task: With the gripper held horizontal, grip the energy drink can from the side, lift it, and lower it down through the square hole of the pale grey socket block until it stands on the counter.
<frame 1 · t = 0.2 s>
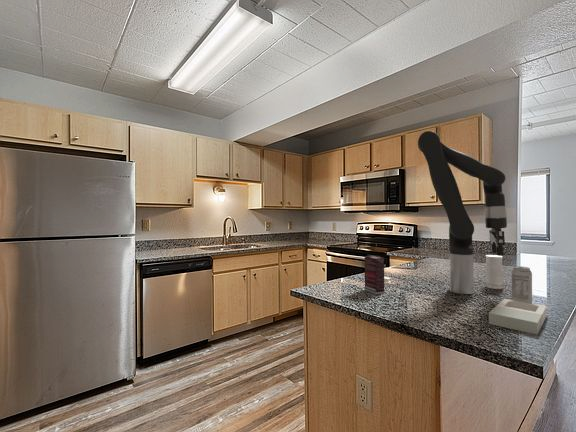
hand: (497, 254, 127), 18 cm above the counter, tool pointing down, fingers open, 8 cm apart
supplement box: (374, 292, 134), on the counter
energy drink can: (521, 307, 111), on the counter
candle: (494, 287, 140), on the counter
socket block: (521, 316, 101), on the counter
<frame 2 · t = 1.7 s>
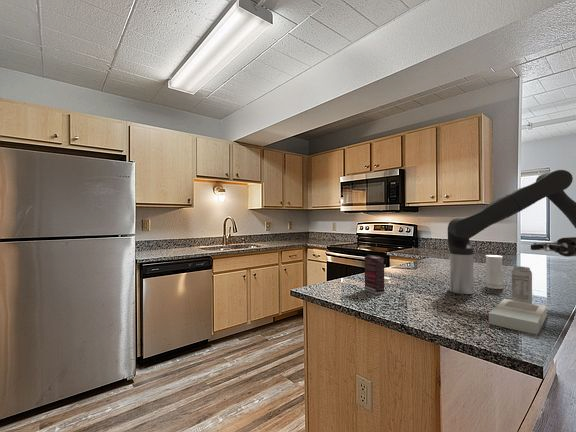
hand: (543, 248, 114), 22 cm above the counter, tool horizontal, fingers open, 8 cm apart
nothing on the counter moved.
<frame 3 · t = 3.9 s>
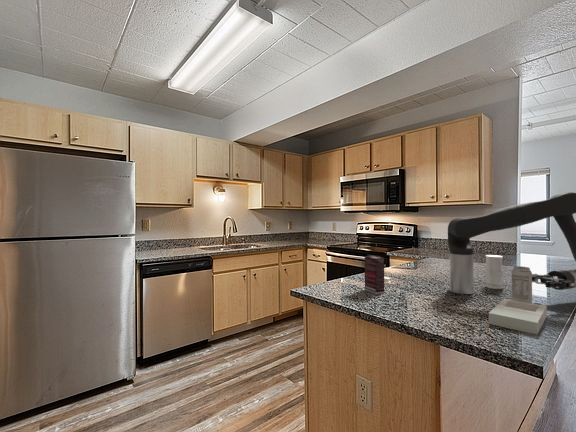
hand: (534, 282, 112), 9 cm above the counter, tool horizontal, fingers open, 8 cm apart
nothing on the counter moved.
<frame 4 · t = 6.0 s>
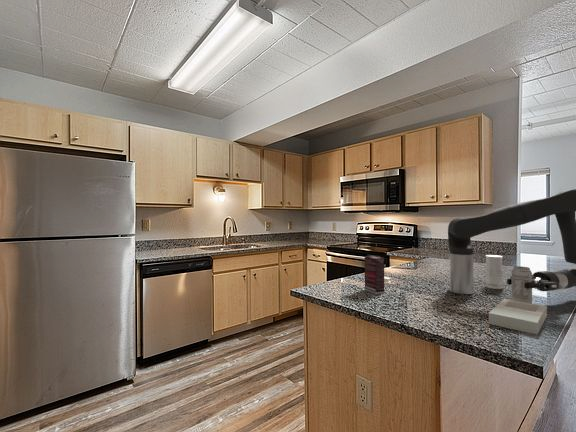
hand: (516, 283, 110), 9 cm above the counter, tool horizontal, fingers closed on energy drink can, 6 cm apart
energy drink can: (521, 307, 111), on the counter, touching gripper
everything else where it was.
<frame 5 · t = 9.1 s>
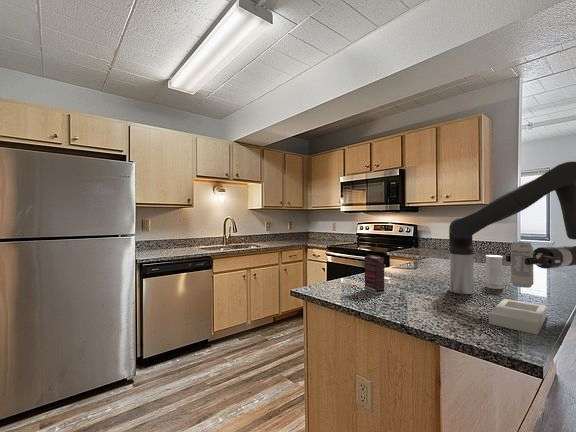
hand: (516, 260, 100), 19 cm above the counter, tool horizontal, fingers closed on energy drink can, 6 cm apart
energy drink can: (522, 286, 101), point 10 cm above the counter, touching gripper
everything else where it was.
when the fingers open (10 cm above the counter, at t = 12.2 s): energy drink can stays where it is, resting in socket block.
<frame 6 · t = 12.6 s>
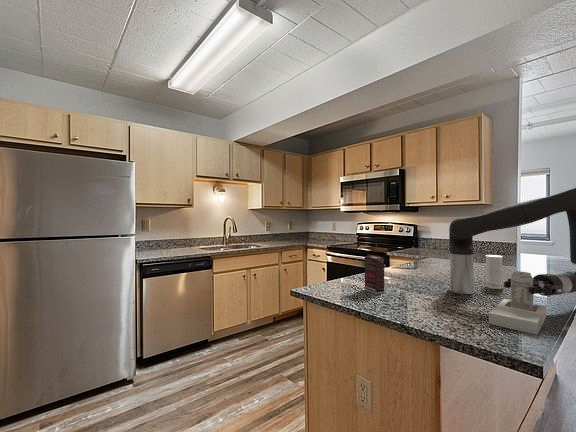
hand: (517, 287, 101), 10 cm above the counter, tool horizontal, fingers open, 8 cm apart
energy drink can: (521, 316, 101), resting in socket block
everything else where it was.
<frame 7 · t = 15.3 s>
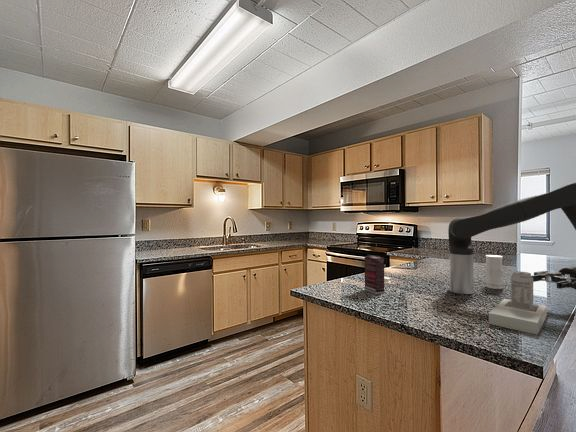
hand: (544, 282, 105), 11 cm above the counter, tool horizontal, fingers open, 8 cm apart
nothing on the counter moved.
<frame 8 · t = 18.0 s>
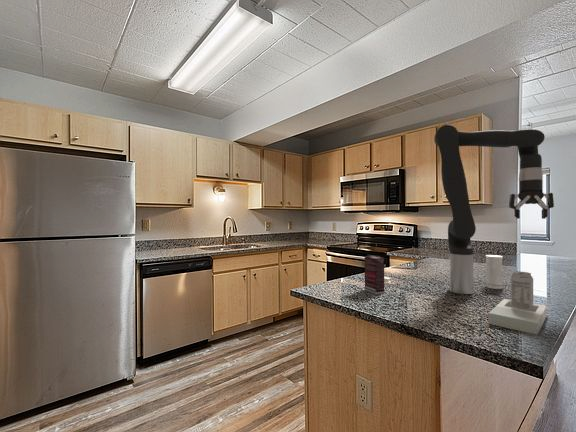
hand: (530, 218, 122), 33 cm above the counter, tool pointing down, fingers open, 8 cm apart
nothing on the counter moved.
at the end: energy drink can 0.2 cm off-centre on the socket block, point 0.0 cm above the socket block's base; energy drink can tilted 0°; the gripper is holding nothing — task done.
